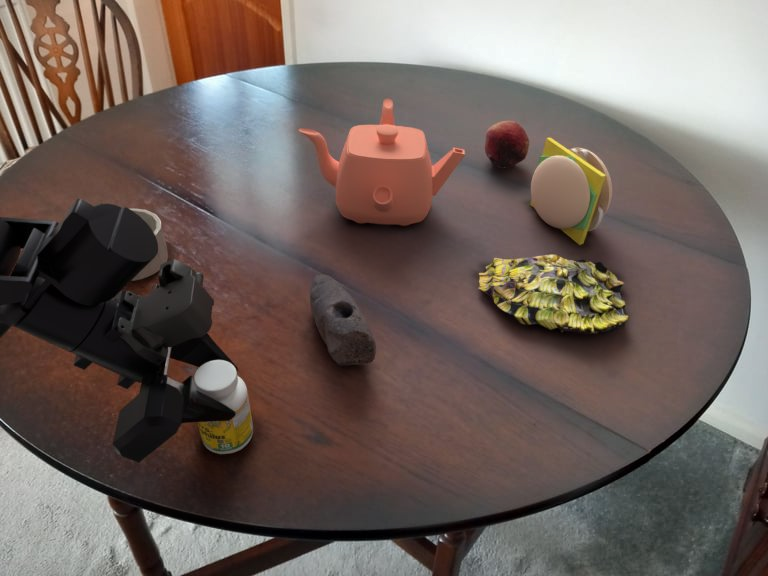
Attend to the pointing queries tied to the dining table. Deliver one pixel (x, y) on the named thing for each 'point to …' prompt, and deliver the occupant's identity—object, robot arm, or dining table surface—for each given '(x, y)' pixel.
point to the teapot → (384, 171)
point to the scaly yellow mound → (556, 293)
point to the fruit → (506, 144)
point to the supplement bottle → (232, 392)
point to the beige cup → (162, 247)
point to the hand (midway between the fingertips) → (234, 393)
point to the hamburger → (571, 189)
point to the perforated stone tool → (341, 323)
